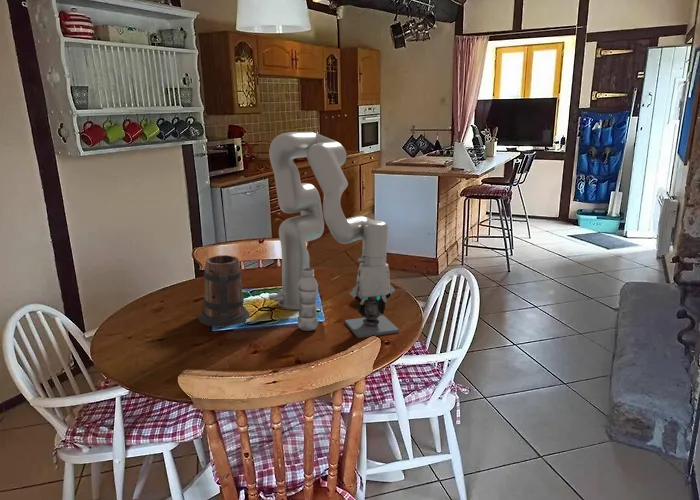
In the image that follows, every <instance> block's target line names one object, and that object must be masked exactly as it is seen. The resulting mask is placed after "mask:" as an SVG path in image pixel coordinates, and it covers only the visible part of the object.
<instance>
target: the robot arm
mask: <svg viewBox="0 0 700 500" xmlns="http://www.w3.org/2000/svg"><path fill="white" fill-rule="evenodd" d="M268 155H269V162H270V166H271V168H272V171H273V174H274V175H273V176H274V182H275V183H274V184H275V189H276V194H277V201H278V205H279V208H280V210H281V211H282V212H283V213H284V214H294V213H295V214H296V213H300V215H296V216H293V217H289V218H287V219H285V220H284V221H282V222H281V223H280V225H279V228H278V237H279V240H280V248H281V279H282V280H281V282H282V283H281V285H282V286H281V287H282V288H281V289H282V290H279V292H277V294H268V300H269V301H274V303H275V302H277V305H278V306H279V307H280V308H282V309H285V310H292V311H294V310H295V311H297V310H298V309H299V306H300V304H299V292H298V283H299V281H300V279H301V278H302V277H303V276H302V269H303V268H310V254H309V250H308V248H307V247H306V243H308V242H311V241H315V240H317V239H319V238H320V237H321V236H322V235H323V233H324V231H325V224H326V226H327V228H328V230H329V231H330V234H331V236H332V237H333V239H335V241H336V242H337V243H340V244H343V245H347V244H348V245H349V244H350V243H353V242H357V241H361V240H362V254H361V256H360V257H358V258H357V261H358V262H359V266H358V271H357V277H356V284H355V286H354V287H352V289H351V291H350V292H349V293H348V294H349V296H351V297H352V298H353V299H354V300H356V302H358V309H357V310H358V314H360V315H361V316H362V317H364V316H365V308H366V304H365V303H366V302H365V301H366V300H365V299H366V297H375V296H380V299H379V300H378V301H377V309H379V310H380V311H381V313H380V315H384V313H385V310H386V303H387V301H388V299H389V298H390V297H391V296H392V295H393V294H394V292H395V291H396V289H395V287H393V285H392V284H391V276H390V274H391V273H390V268H389V267H390V266H389V264H388V263H387V251H388V250H387V247H388V235H389V234H388V230H389V226H388V223H387V222H385V221H384V220H376V219H372V218H369V217H366V216H364V215H356V216H352V217H348V218H346V216H345V214H344V211H343V209H342V206H341V201H342V200H341V198H342V195H343V193H344V191H345V190H346V189H347V188H348V186H349V182H348V180H347V178H346V176H345V173H344V172H343V169H342V166H343V165H344V164H345V163H346V160H347V152H346V148H345V147H344V146H343V145H342V143H340V142H338V141H336V140H334V139H333V138H332V139H331V138H329V137H327V136H324V135H322V134H319V133H317V132H314V131H290V132H283V133H281V134H278V135H277V136H276V137H274V138H273V140H271V143H270V146H269V153H268ZM301 158H306V159H307V161H308V164H309V166H310V169H311V170H312V172H313V174H314V176H315V178H316V181H317V182H318V184H319V187H320V189H321V191H322V194H323V201H321V196H320V193H319V191H318V189H317V187H315V185H313V184H312V183H308V182H302V181H301V176H300V171H299V169H298V166H297V165H296V163H295V162H294V159H301ZM357 293H358V295H357ZM359 293H360V294H359ZM298 311H299V310H298Z"/></svg>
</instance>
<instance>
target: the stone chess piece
mask: <svg viewBox="0 0 700 500" xmlns="http://www.w3.org/2000/svg"><path fill="white" fill-rule="evenodd" d="M366 302H367V303H366V307H365V316H363V318H366V319H364V320H363V322H364V323H365V324H368V325H376V324H378V323H379V320H378V319H377V318H378V317H379V316H381V311H380V310H379V309H378V300H377V296H375V297H368V299H367V300H366Z"/></svg>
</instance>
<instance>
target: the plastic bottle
mask: <svg viewBox="0 0 700 500" xmlns="http://www.w3.org/2000/svg"><path fill="white" fill-rule="evenodd" d="M302 276H303V277H302V278H301V279H300V281H299V283H298V292H299V304H300V306H299V310H298V315H297V326H298V328H299V329H300V330H301V331H304V332H312V331H314V330H316V328H317V327H318V325H319V320H318V313H317V311H318V310H317V295H318V291H319V290H318V289H319V284H318V281H317V280H316V279H315V269H314V268H313V267H309V268H303V269H302Z"/></svg>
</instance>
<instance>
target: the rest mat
mask: <svg viewBox="0 0 700 500" xmlns="http://www.w3.org/2000/svg"><path fill="white" fill-rule="evenodd" d="M364 319H366V318H365V317H358V318H352V319H345V320H344V324H345V325H346V326H347V327H348V328H349V329H350V331H351V332H352V333H353V335H355V336H356V337H357V339H360V338H361V339H362V338H369V336H370V337H374V336H375V337H376V336H382V335H389V334H396V333H397V334H399V333H400V329H399V328H398V326H396V325H395V323H392V322H391V320H389V319H388V318H387V317H386V316H385V315H384V314H380V315H379V317H378V318H377V319H378V320H379V323H378V324H376V325H368V324H365V323H364V322H363V320H364ZM372 335H374V336H372Z"/></svg>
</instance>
